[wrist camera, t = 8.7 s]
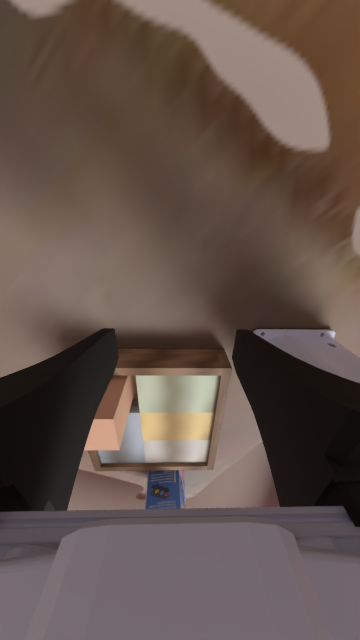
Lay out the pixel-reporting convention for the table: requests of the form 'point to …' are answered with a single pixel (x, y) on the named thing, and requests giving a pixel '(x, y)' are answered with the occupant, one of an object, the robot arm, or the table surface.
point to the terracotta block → (111, 415)
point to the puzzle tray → (174, 369)
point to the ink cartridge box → (165, 490)
